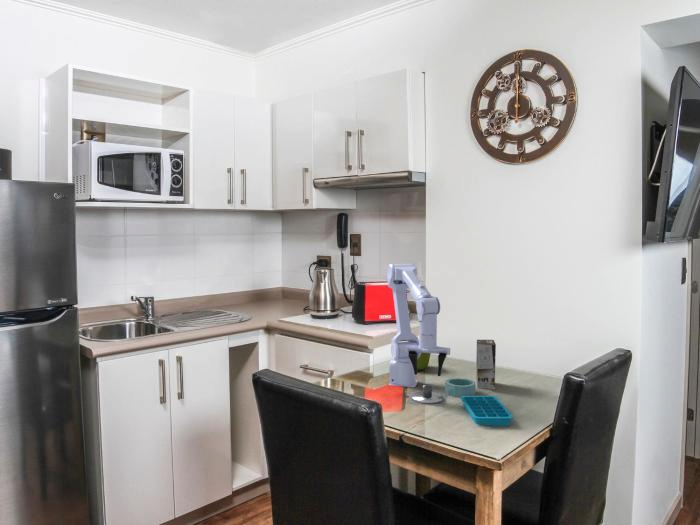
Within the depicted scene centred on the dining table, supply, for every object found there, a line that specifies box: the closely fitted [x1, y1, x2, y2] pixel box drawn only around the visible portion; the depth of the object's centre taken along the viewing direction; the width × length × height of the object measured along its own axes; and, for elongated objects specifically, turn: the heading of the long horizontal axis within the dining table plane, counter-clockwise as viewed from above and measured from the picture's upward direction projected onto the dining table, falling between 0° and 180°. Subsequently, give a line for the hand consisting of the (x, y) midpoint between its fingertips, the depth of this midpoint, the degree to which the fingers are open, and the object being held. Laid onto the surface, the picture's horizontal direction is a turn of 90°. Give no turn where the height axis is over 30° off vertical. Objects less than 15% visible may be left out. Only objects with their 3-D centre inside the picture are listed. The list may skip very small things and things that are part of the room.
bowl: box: [444, 377, 476, 398], centre depth 186 cm, size 10×10×4 cm
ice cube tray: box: [460, 395, 514, 427], centre depth 165 cm, size 12×20×3 cm, turn 0°
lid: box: [411, 383, 443, 404], centre depth 179 cm, size 10×10×5 cm
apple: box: [407, 341, 432, 371], centre depth 219 cm, size 12×12×11 cm
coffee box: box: [475, 339, 497, 390], centre depth 195 cm, size 9×6×16 cm
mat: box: [405, 391, 448, 407], centre depth 179 cm, size 12×12×1 cm
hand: (427, 374), depth 178 cm, fingers open, 7 cm apart
